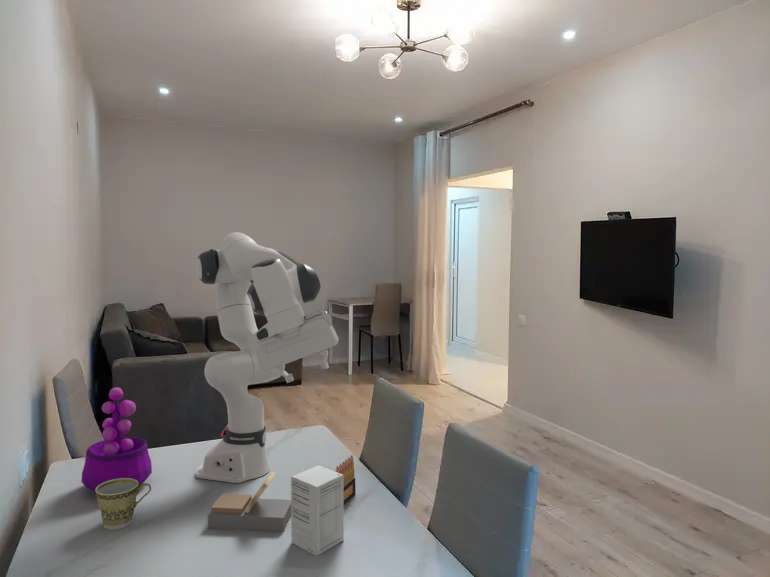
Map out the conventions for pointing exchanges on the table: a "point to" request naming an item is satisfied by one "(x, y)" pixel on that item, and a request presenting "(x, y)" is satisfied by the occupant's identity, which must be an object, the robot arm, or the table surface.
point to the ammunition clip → (348, 478)
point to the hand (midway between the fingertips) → (308, 375)
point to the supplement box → (317, 509)
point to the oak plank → (260, 492)
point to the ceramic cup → (118, 501)
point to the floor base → (249, 513)
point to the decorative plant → (116, 448)
